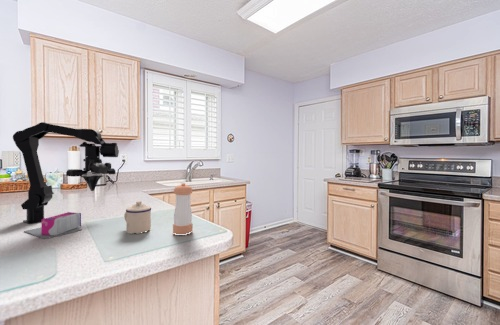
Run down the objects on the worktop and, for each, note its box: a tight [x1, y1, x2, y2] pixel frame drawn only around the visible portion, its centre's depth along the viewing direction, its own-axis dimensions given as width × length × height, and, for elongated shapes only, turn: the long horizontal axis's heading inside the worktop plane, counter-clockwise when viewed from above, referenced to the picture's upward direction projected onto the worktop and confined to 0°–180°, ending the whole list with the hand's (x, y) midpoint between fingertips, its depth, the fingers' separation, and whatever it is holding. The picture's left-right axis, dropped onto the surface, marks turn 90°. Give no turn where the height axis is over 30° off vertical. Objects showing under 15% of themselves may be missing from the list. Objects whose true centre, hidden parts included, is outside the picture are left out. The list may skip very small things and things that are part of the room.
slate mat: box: [23, 226, 83, 240], centre depth 91 cm, size 16×12×1 cm
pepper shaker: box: [172, 183, 193, 234], centre depth 91 cm, size 7×7×19 cm
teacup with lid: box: [123, 200, 152, 234], centre depth 94 cm, size 12×9×12 cm
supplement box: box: [41, 211, 82, 235], centre depth 91 cm, size 6×6×12 cm
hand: (92, 190), depth 109 cm, fingers closed
